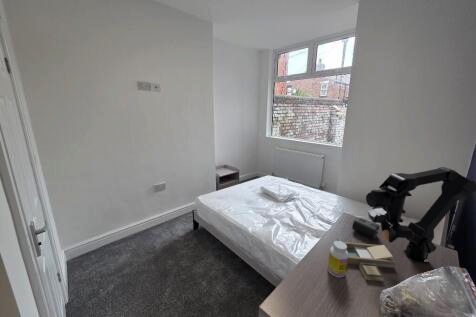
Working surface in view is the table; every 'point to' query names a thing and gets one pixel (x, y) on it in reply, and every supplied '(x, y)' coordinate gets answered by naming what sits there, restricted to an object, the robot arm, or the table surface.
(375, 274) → the grey framed beige square
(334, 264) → the supplement bottle
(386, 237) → the ball
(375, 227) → the end cap
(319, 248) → the table surface
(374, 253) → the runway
